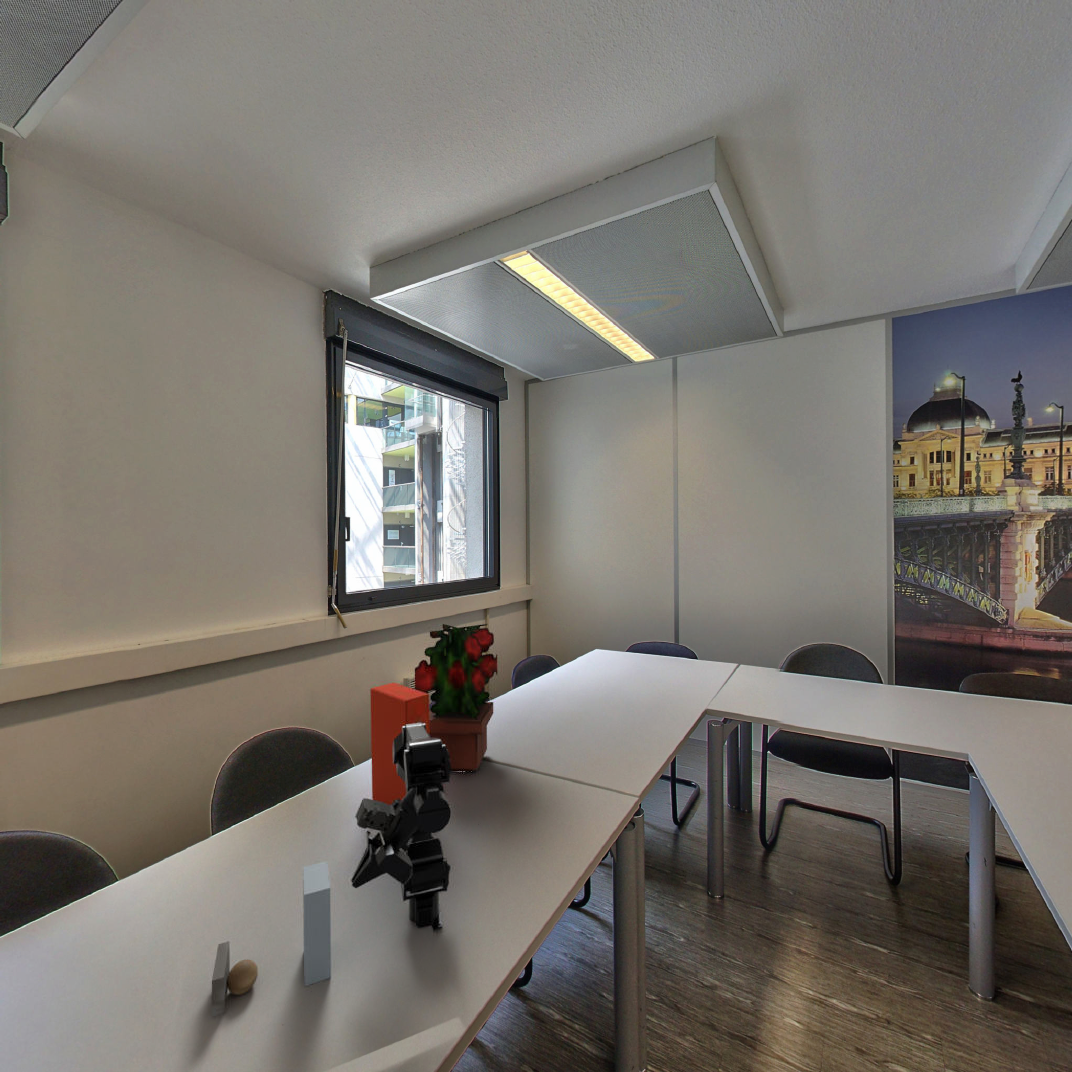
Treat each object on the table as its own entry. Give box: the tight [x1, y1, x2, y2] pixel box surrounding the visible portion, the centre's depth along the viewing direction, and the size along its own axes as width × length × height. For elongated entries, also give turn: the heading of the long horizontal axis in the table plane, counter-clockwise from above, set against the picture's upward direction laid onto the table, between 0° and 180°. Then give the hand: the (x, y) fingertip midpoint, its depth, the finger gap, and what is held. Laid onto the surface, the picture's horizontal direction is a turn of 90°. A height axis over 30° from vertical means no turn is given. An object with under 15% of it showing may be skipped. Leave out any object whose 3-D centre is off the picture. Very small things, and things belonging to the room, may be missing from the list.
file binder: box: [370, 682, 430, 805], centre depth 147 cm, size 8×17×32 cm, turn 47°
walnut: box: [227, 959, 259, 996], centre depth 85 cm, size 4×4×4 cm
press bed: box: [211, 940, 231, 1019], centre depth 88 cm, size 20×11×7 cm, turn 115°
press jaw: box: [302, 860, 332, 987], centre depth 90 cm, size 4×8×15 cm, turn 25°
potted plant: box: [414, 623, 498, 773], centre depth 173 cm, size 22×22×45 cm
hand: (353, 884), depth 93 cm, fingers closed
